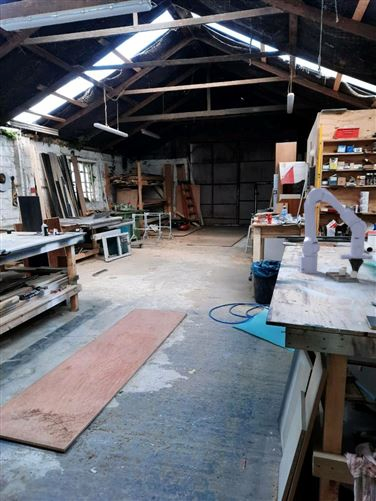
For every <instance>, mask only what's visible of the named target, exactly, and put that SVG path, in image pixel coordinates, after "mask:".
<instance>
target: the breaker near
mask: <svg viewBox="0 0 376 501" xmlns="http://www.w3.org/2000/svg"><path fill="white" fill-rule="evenodd" d="M350 277H352V278H358V273H357V272H356V271H352V270H351V271H350Z"/></svg>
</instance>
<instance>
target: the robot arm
mask: <svg viewBox="0 0 376 501" xmlns="http://www.w3.org/2000/svg"><path fill="white" fill-rule="evenodd" d="M322 202H323V203H324V202H325V203H327V204H329V206H331V207H333V209H334V210H335V211H337V213H339V218H340V219H341V220H342V221H343V222H344V223H345V224H346V225H347V226H348V227H349V228H350V232H351V240H350V251H349V253H348V254H340V258H339V259H340V260H343V261H344V260H348V262H349V264H350V267H351V271H356V272H357V274H358V272H359V270H360V268H361V267H362V265H363V264H364V262H365V260H373V258H374V257H373V255H372V254H364V250H365V240H366V231H367V229H368V225H367V223H366V222H365V221H364V220H362V218H360V217H358V216H357V215H356V214H355V211H354V210H353V209H352V210H351V209H349V208H347V209H346V208H345V207H344V206H343V204H342V203H341V202H340V201H339V200H338V199H337V197H335V195H333V193H331V192H330V191H329V190H328V189H327V188H326V187H314V188H312V189H311V190H310V191H309V192H308V195H307V197H306V199H305V201H304V203H303V209H304V210H303V212H304V213H303V214H304V233H305V234H304V235H305V236H304V240H303V242H302V243H303V245H302V247H301V251H302V255H298V258H297V269H296V270H297V271H298V272H300V273H301V274H320V273H321V272H320V271H319V270H318V259H319V254H318V253H319V251H320V250H321V246H320V244H319V240H318V237H317V230H316V228H317V227H316V206H318V204H319V203H322Z"/></svg>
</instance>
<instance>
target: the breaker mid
mask: <svg viewBox="0 0 376 501" xmlns="http://www.w3.org/2000/svg"><path fill="white" fill-rule="evenodd" d="M345 271H346V272H347V270H346V269H344V268H341V267H339V270H338V272H339V274H340V275H345Z"/></svg>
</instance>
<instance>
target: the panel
mask: <svg viewBox="0 0 376 501" xmlns="http://www.w3.org/2000/svg"><path fill="white" fill-rule="evenodd" d="M325 275H326V276H327V277H329V278H331V279H333V280H334V281H336V283H359V282H360V278H358V277H357V278H352V277H350V275H351V273H349V272H347V271H346V272H345V275H340V274H339V271H326V272H325Z"/></svg>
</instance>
